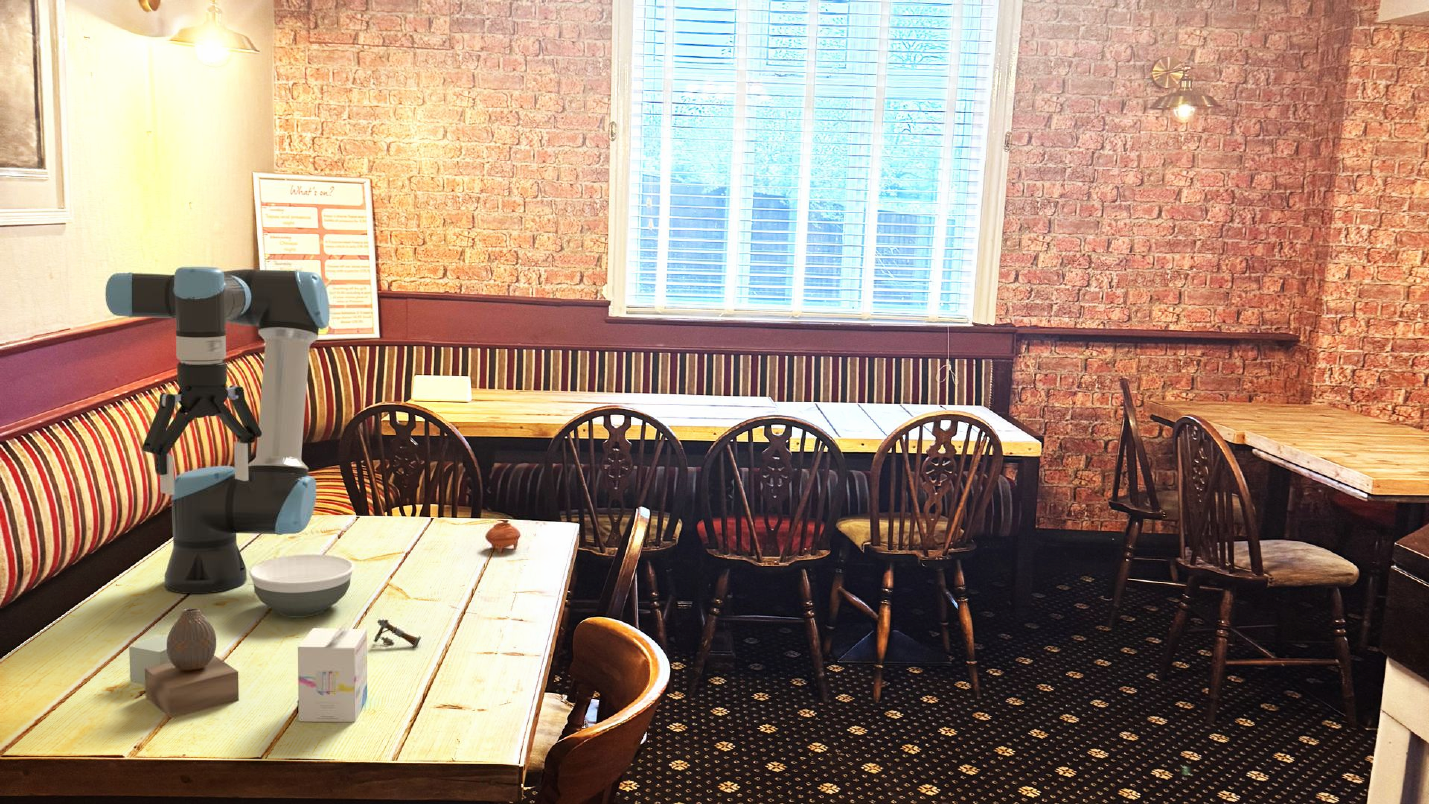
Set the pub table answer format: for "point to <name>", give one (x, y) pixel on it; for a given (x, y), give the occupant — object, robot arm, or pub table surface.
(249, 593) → the pub table surface
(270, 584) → the bowl
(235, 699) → the plinth
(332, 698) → the ink box
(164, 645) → the sage cube
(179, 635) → the vase
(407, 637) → the wooden post with brackets
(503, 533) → the pot
